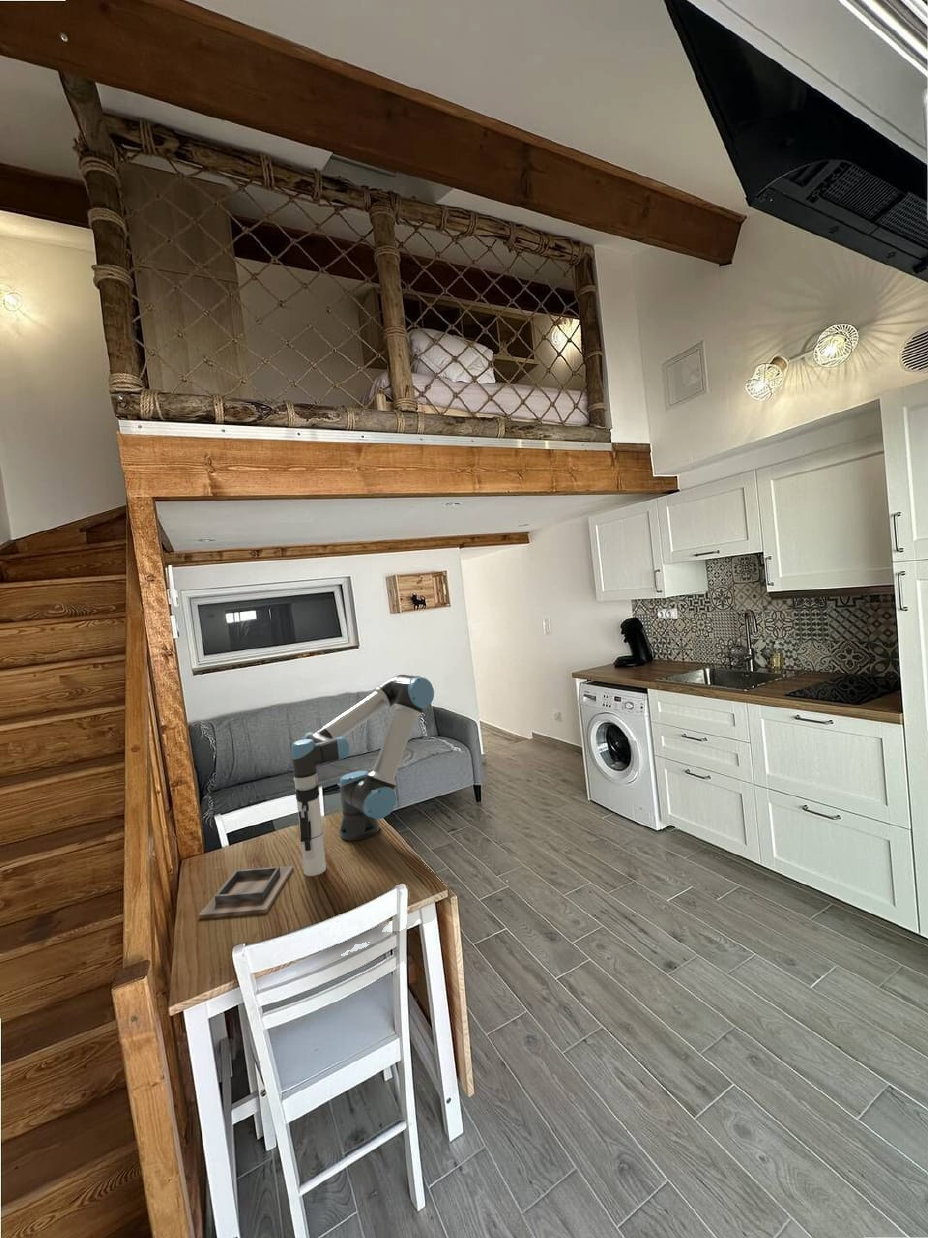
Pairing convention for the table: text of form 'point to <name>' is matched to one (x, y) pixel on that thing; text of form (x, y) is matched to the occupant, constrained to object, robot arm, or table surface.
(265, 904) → the board
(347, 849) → the table surface
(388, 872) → the table surface
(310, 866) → the cylindrical container
